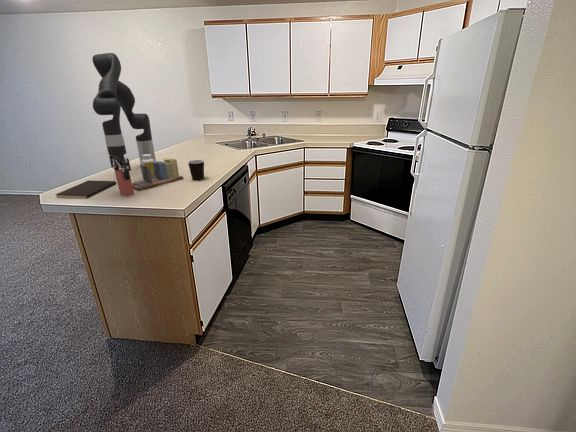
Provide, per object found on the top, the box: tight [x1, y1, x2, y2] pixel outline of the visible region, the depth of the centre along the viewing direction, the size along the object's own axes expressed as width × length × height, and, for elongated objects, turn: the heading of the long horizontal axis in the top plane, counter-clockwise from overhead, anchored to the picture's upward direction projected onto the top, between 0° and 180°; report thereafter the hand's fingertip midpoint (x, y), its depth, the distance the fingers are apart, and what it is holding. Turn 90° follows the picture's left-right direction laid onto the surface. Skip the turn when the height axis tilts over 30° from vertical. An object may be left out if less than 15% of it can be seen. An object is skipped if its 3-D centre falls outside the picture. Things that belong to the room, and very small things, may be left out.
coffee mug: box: [187, 159, 205, 182], centre depth 174 cm, size 12×9×10 cm
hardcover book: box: [54, 179, 117, 199], centre depth 157 cm, size 16×23×2 cm
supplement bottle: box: [142, 154, 155, 178], centre depth 177 cm, size 7×7×13 cm
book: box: [114, 168, 135, 197], centre depth 150 cm, size 6×4×12 cm, turn 53°
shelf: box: [132, 157, 184, 192], centre depth 166 cm, size 12×26×11 cm, turn 143°
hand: (123, 178), depth 148 cm, fingers open, 8 cm apart
